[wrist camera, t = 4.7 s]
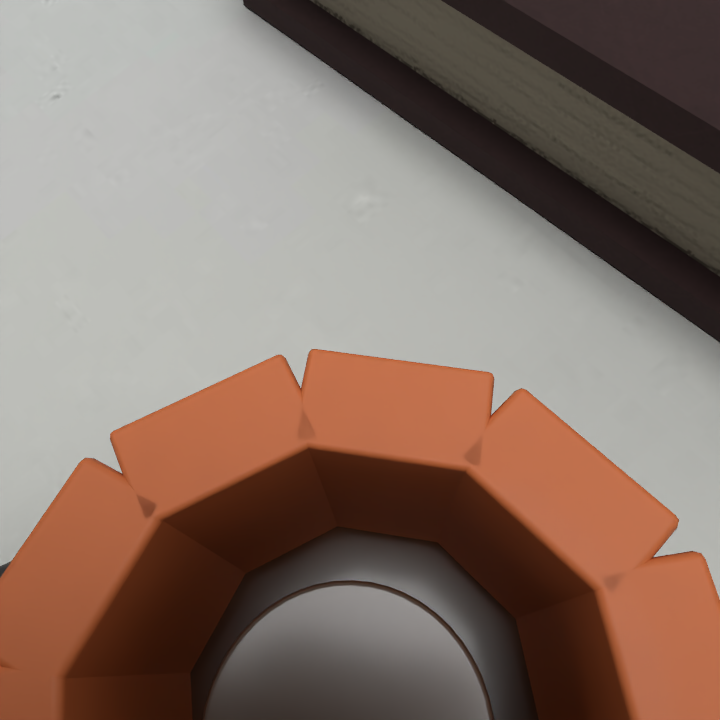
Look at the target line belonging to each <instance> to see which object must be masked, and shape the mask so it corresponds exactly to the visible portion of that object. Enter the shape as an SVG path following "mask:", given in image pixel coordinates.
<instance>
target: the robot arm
mask: <svg viewBox="0 0 720 720" xmlns="http://www.w3.org/2000/svg"><path fill="white" fill-rule="evenodd" d="M10 563H11V562H9V563H7V564H4V565H2V566H0V577H1V576H2V574H3V573H4V572H5V570H6V569H7V567H8V566H9V564H10Z"/></svg>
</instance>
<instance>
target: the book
mask: <svg viewBox="0 0 720 720" xmlns="http://www.w3.org/2000/svg"><path fill="white" fill-rule="evenodd" d="M243 2H244V5H245V6H246V7H248V8H249V9H251V10H252V11H253V12H255V13H256V14H258V15H259V16H260V17H262V18H263V19H265V20H266V21H268V22H269V23H270V24H272V25H273V26H275V27H276V28H277V29H279V30H280V31H282V32H283V33H285V34H286V35H287V36H289V37H290V38H292V39H293V40H294V41H296V42H297V43H299V44H300V45H301V46H303V47H304V48H306V49H307V50H309V51H310V52H311V53H313V54H314V55H316V56H317V57H318V58H320V59H321V60H323V61H324V62H325V63H327V64H328V65H330V66H331V67H333V68H334V69H335V70H337V71H338V72H340V73H341V74H342V75H344V76H345V77H347V78H348V79H350V80H351V81H352V82H354V83H355V84H357V85H358V86H359V87H361V88H362V89H364V90H365V91H366V92H368V93H369V94H371V95H372V96H374V97H375V98H376V99H378V100H379V101H381V102H382V103H383V104H385V105H386V106H388V107H389V108H390V109H392V110H393V111H395V112H396V113H398V114H399V115H400V116H402V117H403V118H405V119H406V120H407V121H409V122H410V123H412V124H413V125H415V126H416V127H417V128H419V129H420V130H422V131H423V132H424V133H426V134H427V135H429V136H430V137H431V138H433V139H434V140H436V141H437V142H439V143H440V144H441V145H443V146H444V147H446V148H447V149H448V150H450V151H451V152H453V153H454V154H456V155H457V156H458V157H460V158H461V159H463V160H464V161H465V162H467V163H468V164H470V165H471V166H472V167H474V168H475V169H477V170H478V171H480V172H481V173H482V174H484V175H485V176H487V177H488V178H489V179H491V180H492V181H494V182H495V183H496V184H498V185H499V186H501V187H502V188H504V189H505V190H506V191H508V192H509V193H511V194H512V195H513V196H515V197H516V198H518V199H519V200H521V201H522V202H523V203H525V204H526V205H528V206H529V207H530V208H532V209H533V210H535V211H536V212H537V213H539V214H540V215H542V216H543V217H545V218H546V219H547V220H549V221H550V222H552V223H553V224H554V225H556V226H557V227H559V228H560V229H562V230H563V231H564V232H566V233H567V234H569V235H570V236H571V237H573V238H574V239H576V240H577V241H578V242H580V243H581V244H583V245H584V246H586V247H587V248H588V249H590V250H591V251H593V252H594V253H595V254H597V255H598V256H600V257H601V258H602V259H604V260H605V261H607V262H608V263H610V264H611V265H612V266H614V267H615V268H617V269H618V270H619V271H621V272H622V273H624V274H625V275H627V276H628V277H629V278H631V279H632V280H634V281H635V282H636V283H638V284H639V285H641V286H642V287H643V288H645V289H646V290H648V291H649V292H651V293H652V294H653V295H655V296H656V297H658V298H659V299H660V300H662V301H663V302H665V303H666V304H668V305H669V306H670V307H672V308H673V309H675V310H676V311H677V312H679V313H680V314H682V315H683V316H684V317H686V318H687V319H689V320H690V321H692V322H693V323H694V324H696V325H697V326H699V327H700V328H701V329H703V330H704V331H706V332H707V333H708V334H710V335H711V336H713V337H714V338H716V339H717V340H718V341H720V0H243Z"/></svg>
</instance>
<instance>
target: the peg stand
mask: <svg viewBox="0 0 720 720" xmlns="http://www.w3.org/2000/svg"><path fill="white" fill-rule="evenodd" d="M190 677H191V699H192V720H539V718H538V714H537V709H536V705H535V701H534V696H533V692H532V688H531V683H530V679H529V675H528V670H527V666H526V662H525V657H524V653H523V649H522V644H521V640H520V636H519V631H518V627H517V623H516V619H515V618H514V617H513V616H512V615H511V614H510V613H509V612H508V611H507V610H506V609H505V608H504V607H503V606H502V605H501V604H500V603H499V602H498V601H497V600H496V599H495V598H494V597H493V596H492V595H491V594H490V593H489V592H488V591H487V590H486V589H485V588H484V587H483V586H482V585H481V584H480V583H478V582H477V581H476V580H475V579H474V578H473V577H472V576H471V575H470V574H469V573H468V572H467V571H466V570H465V569H464V568H463V567H462V566H461V565H460V564H459V563H458V562H457V561H456V560H455V559H454V558H453V557H452V556H451V555H450V554H449V553H448V552H447V551H446V550H445V549H444V548H443V547H442V546H441V545H440V544H439V543H438V542H433V541H427V540H420V539H414V538H408V537H402V536H395V535H389V534H383V533H377V532H370V531H364V530H358V529H351V528H345V527H339V526H337V527H335V528H333V529H331V530H329V531H327V532H326V533H324V534H322V535H320V536H318V537H316V538H314V539H312V540H310V541H308V542H306V543H304V544H302V545H300V546H298V547H296V548H294V549H292V550H290V551H288V552H287V553H285V554H283V555H281V556H279V557H277V558H275V559H273V560H271V561H269V562H267V563H265V564H263V565H261V566H259V567H257V568H255V569H253V570H251V571H250V572H248V573H246V574H245V575H244V577H243V579H242V581H241V583H240V584H239V586H238V588H237V590H236V592H235V593H234V595H233V597H232V599H231V600H230V602H229V604H228V606H227V608H226V609H225V611H224V613H223V615H222V617H221V618H220V620H219V622H218V624H217V626H216V627H215V629H214V631H213V633H212V635H211V636H210V638H209V640H208V642H207V644H206V645H205V647H204V649H203V651H202V653H201V654H200V656H199V658H198V660H197V662H196V663H195V665H194V667H193V669H192V670H191V672H190Z"/></svg>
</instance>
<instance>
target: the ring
mask: <svg viewBox="0 0 720 720" xmlns="http://www.w3.org/2000/svg"><path fill="white" fill-rule="evenodd" d="M493 387H494V377H493V374H492V373H489V372H483V371H475V370H468V369H461V368H453V367H446V366H438V365H431V364H423V363H416V362H408V361H401V360H393V359H386V358H378V357H371V356H363V355H356V354H348V353H341V352H333V351H326V350H318V349H312V350H311V351H310V352H309V354H308V358H307V363H306V368H305V372H304V377H303V382H302V386H301V388H300V386H299V384H298V382H297V380H296V378H295V376H294V374H293V372H292V370H291V368H290V366H289V364H288V362H287V360H286V358H285V357H283V356H282V355H276V356H274V357H272V358H270V359H268V360H265V361H263V362H261V363H259V364H257V365H255V366H253V367H250V368H248V369H246V370H244V371H242V372H240V373H237V374H235V375H233V376H231V377H229V378H227V379H225V380H222V381H220V382H218V383H216V384H214V385H212V386H210V387H207V388H205V389H203V390H201V391H199V392H197V393H194V394H192V395H190V396H188V397H186V398H184V399H182V400H179V401H177V402H175V403H173V404H171V405H169V406H166V407H164V408H162V409H160V410H158V411H156V412H154V413H151V414H149V415H147V416H145V417H143V418H141V419H139V420H136V421H134V422H132V423H130V424H128V425H126V426H123V427H121V428H119V429H117V430H115V431H113V432H112V433H111V434H110V440H111V443H112V446H113V449H114V451H115V454H116V457H117V460H118V462H119V465H120V468H121V471H122V473H123V474H122V473H120V472H118V471H116V470H114V469H112V468H110V467H109V466H107V465H105V464H103V463H101V462H99V461H98V460H96V459H94V458H84V459H83V460H82V461H81V462H80V463H79V464H78V465H77V467H76V468H75V470H74V471H73V473H72V474H71V476H70V477H69V479H68V480H67V481H66V483H65V484H64V486H63V487H62V489H61V490H60V492H59V493H58V495H57V496H56V497H55V499H54V500H53V502H52V503H51V505H50V506H49V508H48V509H47V511H46V512H45V513H44V515H43V516H42V518H41V519H40V521H39V522H38V524H37V525H36V526H35V528H34V529H33V531H32V532H31V534H30V535H29V537H28V538H27V540H26V541H25V542H24V544H23V545H22V547H21V548H20V550H19V551H18V553H17V554H16V556H15V557H14V558H13V560H12V561H11V563H10V564H9V566H8V567H7V569H6V570H5V572H4V573H3V574H2V576H1V577H0V720H192V699H191V677H190V672H191V670H192V669H193V667H194V665H195V663H196V662H197V660H198V658H199V656H200V654H201V653H202V651H203V649H204V647H205V645H206V644H207V642H208V640H209V638H210V636H211V635H212V633H213V631H214V629H215V627H216V626H217V624H218V622H219V620H220V618H221V617H222V615H223V613H224V611H225V609H226V608H227V606H228V604H229V602H230V600H231V599H232V597H233V595H234V593H235V592H236V590H237V588H238V586H239V584H240V583H241V581H242V579H243V577H244V575H245V574H246V573H248V572H250V571H251V570H253V569H255V568H257V567H259V566H261V565H263V564H265V563H267V562H269V561H271V560H273V559H275V558H277V557H279V556H281V555H283V554H285V553H287V552H288V551H290V550H292V549H294V548H296V547H298V546H300V545H302V544H304V543H306V542H308V541H310V540H312V539H314V538H316V537H318V536H320V535H322V534H324V533H326V532H327V531H329V530H331V529H333V528H335V527H337V526H339V527H345V528H351V529H358V530H364V531H370V532H377V533H383V534H389V535H395V536H402V537H408V538H414V539H420V540H427V541H433V542H438V543H439V544H440V545H441V546H442V547H443V548H444V549H445V550H446V551H447V552H448V553H449V554H450V555H451V556H452V557H453V558H454V559H455V560H456V561H457V562H458V563H459V564H460V565H461V566H462V567H463V568H464V569H465V570H466V571H467V572H468V573H469V574H470V575H471V576H472V577H473V578H474V579H475V580H476V581H477V582H478V583H480V584H481V585H482V586H483V587H484V588H485V589H486V590H487V591H488V592H489V593H490V594H491V595H492V596H493V597H494V598H495V599H496V600H497V601H498V602H499V603H500V604H501V605H502V606H503V607H504V608H505V609H506V610H507V611H508V612H509V613H510V614H511V615H512V616H513V617H514V618H515V619H516V623H517V627H518V631H519V636H520V640H521V644H522V649H523V653H524V657H525V662H526V666H527V670H528V675H529V679H530V683H531V688H532V692H533V696H534V701H535V705H536V709H537V714H538V718H539V720H720V600H719V597H718V594H717V591H716V588H715V585H714V582H713V580H712V577H711V574H710V571H709V568H708V565H707V562H706V559H705V558H704V557H703V555H702V554H701V553H698V552H693V551H690V552H683V553H677V554H671V555H665V556H659V557H653V556H654V555H655V554H656V553H657V552H658V550H659V549H660V548H661V547H662V545H663V544H664V543H665V542H666V541H667V539H668V538H669V537H670V536H671V535H672V533H673V532H674V531H675V530H676V528H677V526H678V522H679V519H678V518H677V517H676V515H675V514H673V513H672V512H671V511H670V510H669V509H668V508H666V507H665V506H664V505H663V504H662V503H660V502H659V501H658V500H657V499H656V498H654V497H653V496H652V495H651V494H650V493H648V492H647V491H646V490H645V489H644V488H642V487H641V486H640V485H639V484H638V483H636V482H635V481H634V480H633V479H632V478H631V477H629V476H628V475H627V474H626V473H625V472H623V471H622V470H621V469H620V468H619V467H617V466H616V465H615V464H614V463H613V462H611V461H610V460H609V459H608V458H607V457H605V456H604V455H603V454H602V453H601V452H600V451H598V450H597V449H596V448H595V447H594V446H592V445H591V444H590V443H589V442H588V441H586V440H585V439H584V438H583V437H582V436H580V435H579V434H578V433H577V432H576V431H574V430H573V429H572V428H571V427H570V426H569V425H567V424H566V423H565V422H564V421H563V420H561V419H560V418H559V417H558V416H557V415H555V414H554V413H553V412H552V411H551V410H549V409H548V408H547V407H546V406H545V405H543V404H542V403H541V402H540V401H539V400H538V399H536V398H535V397H534V396H533V395H532V394H530V393H529V392H528V391H527V390H525V389H522V388H521V389H519V390H516V391H515V392H514V393H513V394H512V395H511V396H510V397H509V398H508V399H507V400H506V401H505V402H504V403H503V404H502V405H501V406H500V407H499V408H498V409H497V410H496V411H495V412H494V413H493V414H492V415H491V408H492V397H493Z"/></svg>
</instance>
